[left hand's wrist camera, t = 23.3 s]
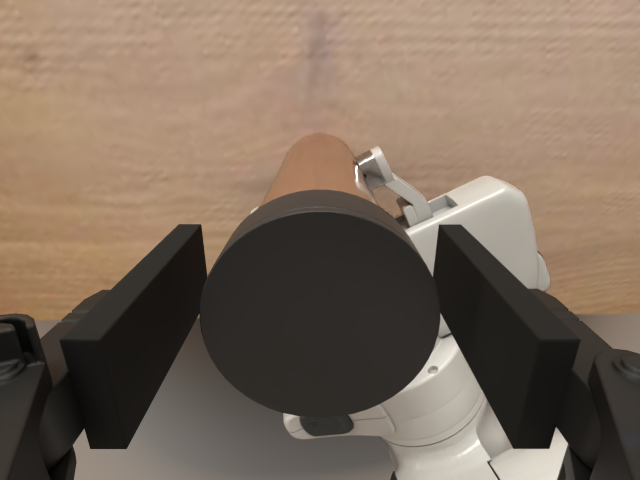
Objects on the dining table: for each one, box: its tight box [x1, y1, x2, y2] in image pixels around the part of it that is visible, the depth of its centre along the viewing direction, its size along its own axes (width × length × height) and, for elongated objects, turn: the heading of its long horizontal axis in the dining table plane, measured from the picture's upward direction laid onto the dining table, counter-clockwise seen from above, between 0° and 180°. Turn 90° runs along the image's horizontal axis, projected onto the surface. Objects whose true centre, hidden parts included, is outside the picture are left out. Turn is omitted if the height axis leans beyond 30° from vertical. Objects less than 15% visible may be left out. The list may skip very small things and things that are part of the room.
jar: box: [260, 134, 380, 207], centre depth 20 cm, size 5×5×19 cm
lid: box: [200, 189, 440, 418], centre depth 11 cm, size 6×6×2 cm
